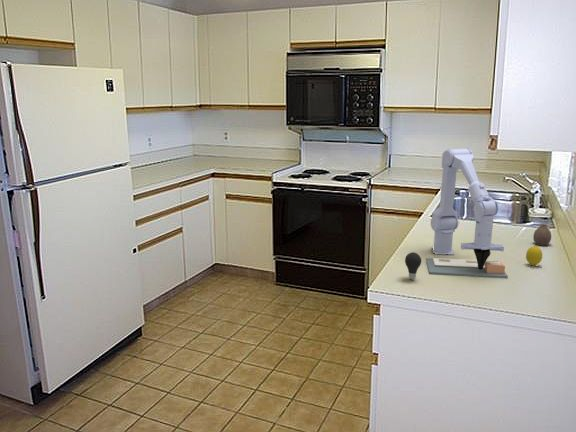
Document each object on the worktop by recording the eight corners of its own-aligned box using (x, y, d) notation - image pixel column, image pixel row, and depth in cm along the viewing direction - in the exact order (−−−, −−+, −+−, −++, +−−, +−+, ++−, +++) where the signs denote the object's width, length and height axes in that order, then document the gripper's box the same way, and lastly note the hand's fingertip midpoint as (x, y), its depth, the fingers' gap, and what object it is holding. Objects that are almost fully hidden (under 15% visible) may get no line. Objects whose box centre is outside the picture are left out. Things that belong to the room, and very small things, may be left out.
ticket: (432, 259, 197) (433, 257, 197) (481, 261, 194) (481, 260, 194) (434, 266, 190) (435, 264, 190) (485, 269, 187) (485, 267, 186)
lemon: (527, 262, 196) (529, 242, 194) (542, 265, 192) (545, 245, 190) (523, 266, 192) (525, 246, 190) (538, 269, 188) (541, 248, 186)
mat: (425, 259, 200) (426, 257, 199) (498, 263, 195) (498, 261, 194) (429, 274, 184) (429, 272, 184) (507, 278, 179) (507, 276, 179)
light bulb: (408, 283, 176) (410, 256, 173) (401, 277, 181) (402, 251, 179) (423, 281, 177) (424, 254, 175) (415, 276, 183) (416, 249, 180)
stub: (484, 269, 186) (485, 261, 185) (501, 270, 185) (502, 262, 184) (486, 272, 182) (487, 264, 182) (504, 273, 181) (505, 265, 181)
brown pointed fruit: (534, 246, 215) (536, 226, 213) (530, 241, 222) (533, 222, 220) (552, 247, 214) (554, 227, 211) (548, 242, 220) (550, 223, 218)
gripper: (464, 235, 179) (461, 271, 182) (507, 237, 176) (503, 273, 179) (461, 229, 185) (458, 264, 189) (502, 231, 183) (499, 266, 186)
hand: (480, 268), depth 185 cm, fingers closed
